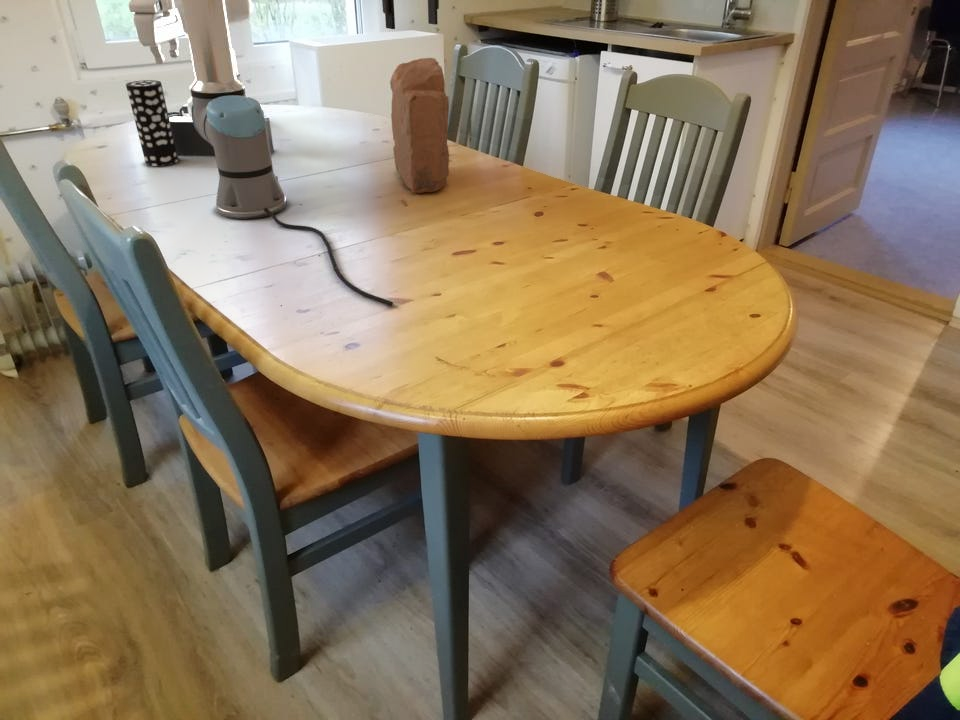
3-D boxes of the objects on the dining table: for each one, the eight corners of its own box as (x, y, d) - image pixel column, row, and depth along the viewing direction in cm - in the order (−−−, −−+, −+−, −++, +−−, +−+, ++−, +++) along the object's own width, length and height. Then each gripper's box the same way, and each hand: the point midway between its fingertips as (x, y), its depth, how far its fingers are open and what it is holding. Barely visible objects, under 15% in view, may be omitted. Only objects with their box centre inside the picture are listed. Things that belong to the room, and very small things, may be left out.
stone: (458, 191, 168) (455, 67, 154) (413, 195, 165) (406, 69, 151) (434, 168, 185) (430, 55, 171) (393, 172, 182) (386, 57, 168)
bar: (273, 150, 197) (269, 117, 192) (268, 156, 192) (263, 123, 187) (179, 149, 197) (172, 116, 192) (171, 155, 192) (163, 121, 187)
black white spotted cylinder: (184, 157, 190) (167, 80, 179) (169, 166, 183) (151, 87, 172) (155, 156, 190) (136, 79, 179) (139, 165, 183) (119, 86, 172)
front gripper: (438, -75, 170) (440, 20, 181) (354, -75, 155) (362, 28, 167) (458, -74, 165) (459, 23, 177) (374, -75, 151) (381, 32, 162)
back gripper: (159, -3, 183) (171, 53, 190) (124, 5, 165) (139, 67, 173) (183, -3, 183) (194, 54, 190) (151, 5, 165) (164, 67, 173)
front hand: (412, 26), depth 172 cm, fingers open, 13 cm apart
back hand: (168, 60), depth 181 cm, fingers open, 8 cm apart
